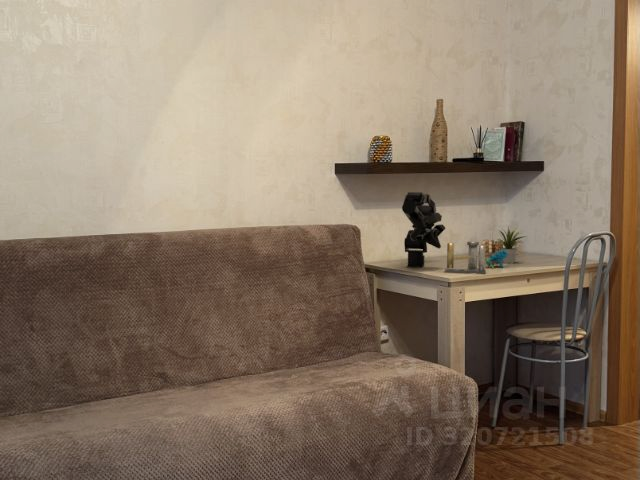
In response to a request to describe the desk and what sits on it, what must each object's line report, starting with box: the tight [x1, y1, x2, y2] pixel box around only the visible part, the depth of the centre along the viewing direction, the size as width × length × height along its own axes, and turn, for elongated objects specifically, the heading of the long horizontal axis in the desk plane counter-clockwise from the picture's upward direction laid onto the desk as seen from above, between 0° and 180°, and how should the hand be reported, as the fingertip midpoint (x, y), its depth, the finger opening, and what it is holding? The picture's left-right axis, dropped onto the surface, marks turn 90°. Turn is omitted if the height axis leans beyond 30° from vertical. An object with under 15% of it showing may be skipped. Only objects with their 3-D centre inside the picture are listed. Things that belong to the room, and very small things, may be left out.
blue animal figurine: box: [485, 249, 507, 269], centre depth 332 cm, size 11×6×10 cm
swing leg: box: [446, 242, 470, 269], centre depth 321 cm, size 13×3×10 cm, turn 129°
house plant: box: [496, 226, 528, 264], centre depth 348 cm, size 14×14×16 cm
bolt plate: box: [443, 267, 487, 275], centre depth 315 cm, size 16×6×1 cm, turn 76°
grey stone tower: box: [466, 241, 486, 271], centre depth 320 cm, size 5×18×11 cm, turn 8°
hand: (439, 247), depth 320 cm, fingers closed
